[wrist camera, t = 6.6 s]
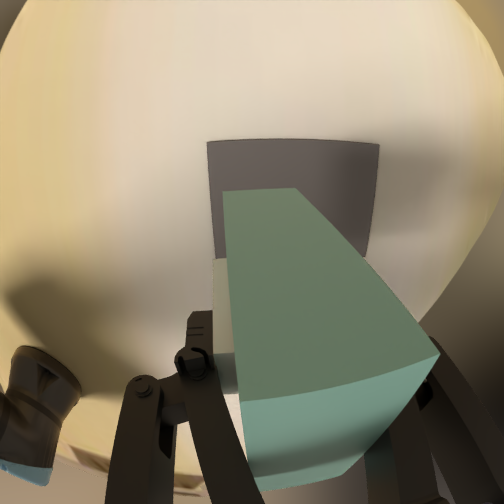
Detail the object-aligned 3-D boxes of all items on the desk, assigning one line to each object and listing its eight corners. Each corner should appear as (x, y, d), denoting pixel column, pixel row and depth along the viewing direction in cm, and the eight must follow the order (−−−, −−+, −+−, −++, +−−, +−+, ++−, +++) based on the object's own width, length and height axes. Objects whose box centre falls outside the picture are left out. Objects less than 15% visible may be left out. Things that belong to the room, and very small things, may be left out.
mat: (217, 268, 29) (217, 270, 28) (206, 142, 22) (206, 142, 22) (364, 255, 30) (365, 256, 30) (377, 144, 24) (379, 144, 24)
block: (232, 319, 19) (252, 492, 8) (222, 191, 14) (239, 401, 4) (288, 314, 19) (341, 475, 8) (295, 187, 15) (440, 353, 4)
